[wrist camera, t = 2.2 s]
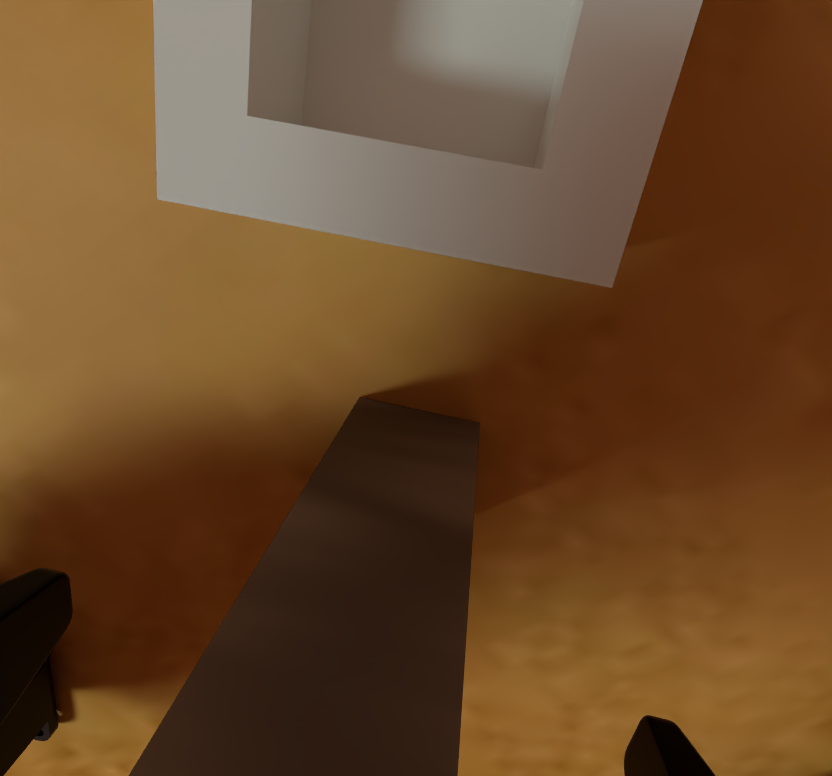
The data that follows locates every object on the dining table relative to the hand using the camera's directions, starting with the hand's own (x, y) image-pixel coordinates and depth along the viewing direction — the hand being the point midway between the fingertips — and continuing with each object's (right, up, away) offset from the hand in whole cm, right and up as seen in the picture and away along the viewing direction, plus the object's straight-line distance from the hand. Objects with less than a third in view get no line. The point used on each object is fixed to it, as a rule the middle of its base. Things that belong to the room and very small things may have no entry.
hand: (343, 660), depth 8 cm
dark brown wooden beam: (+1, +2, +5) cm, 6 cm away
